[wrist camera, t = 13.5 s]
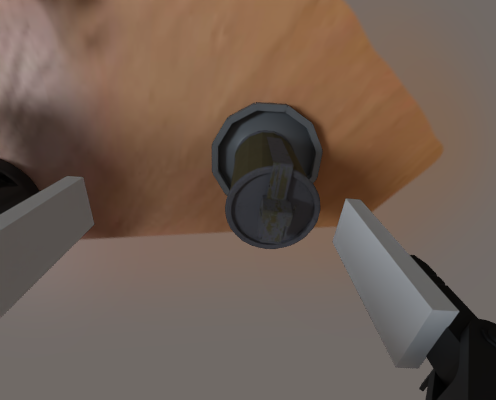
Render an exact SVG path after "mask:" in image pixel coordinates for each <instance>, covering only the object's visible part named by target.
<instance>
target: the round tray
mask: <svg viewBox="0 0 496 400" xmlns="http://www.w3.org/2000/svg"><path fill="white" fill-rule="evenodd" d="M262 130H268V131H274V132H277V133H279V134H281V135H283V136H284V137H286V139H287V140H288V141H289V142H290V143H291V145H292V147H293V149H294V152H295V155H296V157H297V159H298V161H299V163H300V165H301V166H302V168H303V170H304V172H305V174H306V176H307V178H308V179H309V180H310V181H311V182H312V183H314V182H315V180H316V179H317V177H318V172H319V167H320V162H321V157H322V152H323V151H322V148H321V145H320V142H319V139H318V137H317V134H316V131H315V129H314V126H313V124H312V123H311V122H310V121H309V120H307V119H306V118H305V117H303V116H302V115H301V114H299V113H298V112H297V111H295V110H294V109H292V108H291V107H290V106H288V105H286V104H277V103H261V102H256V104H255V103H253V104H251V105H249V106H247V107H245V108H243V109H241V110H239V111H238V112H236V113H234V114H232V115H230V116H229V117H228V118H227V119H226V121H225V123H224V124H223V126H222V128H221V129H220V131H219V133H218V134H217V136H216V138H215V140H214V141H213V143H212V172H213V175H214V176H215V178H216V180H217V181H218V183H219V185H220V186H221V188H222V190H223V191H224V193H225V195H226V194H227V195H226V196H228V194H229V192H230V188H231V182H232V176H233V170H234V157H235V152H236V150H237V147H238V146H239V144H240V142H241V141H242V140H243V139H244V138H245V137H247V136H248V135H250V134H252V133H255V132H257V131H262Z"/></svg>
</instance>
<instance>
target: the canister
mask: <svg viewBox="0 0 496 400" xmlns="http://www.w3.org/2000/svg"><path fill="white" fill-rule="evenodd" d="M225 212H226V218H227V222H228V224H229V226H230V228H231V229H232V231H233V232H234V233H235V234H236V235H237V236H238V237H239V238H240V239H241V240H242V241H244V242H246V243H248V244H250V245H252V246H256V247H259V248H265V249H277V248H282V247H287V246H290V245H292V244H295V243H297V242H298V241H300V240H301V239H303V238H304V237H306V236H307V234H308V233H309V232H310V231H311V230H312V229H313V227H314V226H315V224H316V223H317V221H318V217H319V213H320V198H319V194H318V192H317V190H316V188H315V186H314V184H313V183H312V182H311V181H310V180H309V179H308V178H307V176H306V174H305V172H304V170H303V168H302V166H301V165H300V163H299V161H298V159H297V157H296V155H295V152H294V149H293V147H292V145H291V143H290V142H289V141H288V140H287V139H286V137H284V136H283V135H281V134H279V133H277V132H274V131H268V130H262V131H257V132H255V133H252V134H250V135H248V136H247V137H245V138H244V139H243V140H242V141H241V142H240V144H239V146H238V147H237V150H236V152H235V157H234V170H233V176H232V182H231V188H230V192H229V194H228V197H227V199H226V206H225Z"/></svg>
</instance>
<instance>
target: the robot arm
mask: <svg viewBox="0 0 496 400" xmlns="http://www.w3.org/2000/svg"><path fill="white" fill-rule="evenodd" d="M93 225H94V221H93V216H92V212H91V208H90V204H89V199H88V195H87V191H86V187H85V182H84V178H83V177H75V176H66V177H64V178H63V179H61V180H59V181H57V182H56V183H54V184H52V185H50V186H49V187H47V188H45V189H43V190H42V191H40V192H39V190H38V188H37V187H36V186H35V184H34V183H33V182H32V181H31V179H30V178H29V177H28V176H27V175H25V174H24V173H23V172H22V171H21V170H19V169H18V168H16V167H15V166H13V165H11V164H9V163H7V162H5V161H3V160H0V318H1V317H2V316H3V315H4V314H5V313H6V312H7V311H8V310H9V309H10V308H11V307H12V306H13V305H14V304H15V303H16V302H17V301H18V300H19V299H20V298H21V297H22V296H23V295H24V294H25V293H26V292H27V291H28V290H29V289H30V288H31V287H32V286H33V285H34V284H35V283H36V282H37V281H38V280H39V279H40V278H41V277H42V276H43V275H44V274H45V273H46V272H47V271H48V270H49V269H50V268H51V267H52V266H53V265H54V264H55V263H56V262H57V261H58V260H59V259H60V258H61V257H62V256H63V255H64V254H65V253H66V252H67V251H68V250H69V249H70V248H71V247H72V246H73V245H74V244H75V243H76V242H77V241H78V240H79V239H80V238H81V237H82V236H83V235H84V234H85V233H86V232H87V231H88V230H89V229H90V228H91V227H92V226H93ZM333 244H334V246H335V248H336V250H337V252H338V254H339V256H340V258H341V260H342V262H343V264H344V266H345V268H346V270H347V272H348V274H349V276H350V278H351V280H352V282H353V284H354V286H355V288H356V290H357V292H358V293H359V296H360V298H361V300H362V301H363V304H364V306H365V307H366V309H367V312H368V313H369V316H370V318H371V320H372V322H373V323H374V326H375V328H376V329H377V331H378V334H379V335H380V337H381V339H382V341H383V343H384V345H385V347H386V349H387V351H388V353H389V355H390V357H391V359H392V361H393V363H394V365H395V367H400V368H419V367H420V365H421V364H422V363H423V361H424V360H425V358H426V357H427V359H428V360H429V362H430V363H431V365H432V366H433V368H434V369H433V370H432V371H431V373H430V374H429V375H428V377H427V378H426V379H425V380H424V382H423V383H422V384H421V386H420V390H422V391H424V390H425V388H426V387H428V388H427V395H426V400H496V324H495V323H492V322H490V321H487V320H482V319H478V318H477V317H476V316H475V315H474V314H473V313H472V312H471V311H470V309H469V308H468V307H467V306H466V305H465V304H464V303H463V302H462V301H461V300H460V299H459V298H458V297H457V296H456V294H455V293H454V292H453V291H452V290H451V289H450V288H449V287H448V286H446V285H445V283H444V282H443V281H442V279H441V278H440V277H437V275H436V273H435V272H434V271H433V270H432V269H431V268H430V267H429V266H428V265H427V264H426V263H425V262H423V261H422V260H420V259H419V258H417V257H416V256H415V255H409V254H408V253H407V252H406V251H405V249H404V248H403V247H402V246H401V245H400V244H399V243H398V242H397V240H396V239H395V238H394V237H393V236H392V235H391V234H390V232H389V231H388V230H387V229H386V228H385V227H384V226H383V225H382V223H381V222H380V221H379V220H378V219H377V218H376V217H375V216H374V214H373V213H372V212H371V211H370V210H369V209H368V208H367V207H366V205H365V204H364V203H363V202H362V201H361V200H358V199H346V200H345V203H344V206H343V209H342V213H341V216H340V219H339V222H338V226H337V229H336V232H335V236H334V238H333Z"/></svg>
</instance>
